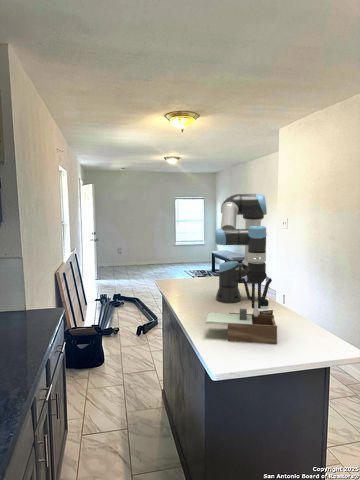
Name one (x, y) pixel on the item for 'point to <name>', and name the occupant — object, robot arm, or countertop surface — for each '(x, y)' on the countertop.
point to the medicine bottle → (264, 308)
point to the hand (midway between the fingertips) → (255, 315)
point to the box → (254, 330)
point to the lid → (229, 318)
